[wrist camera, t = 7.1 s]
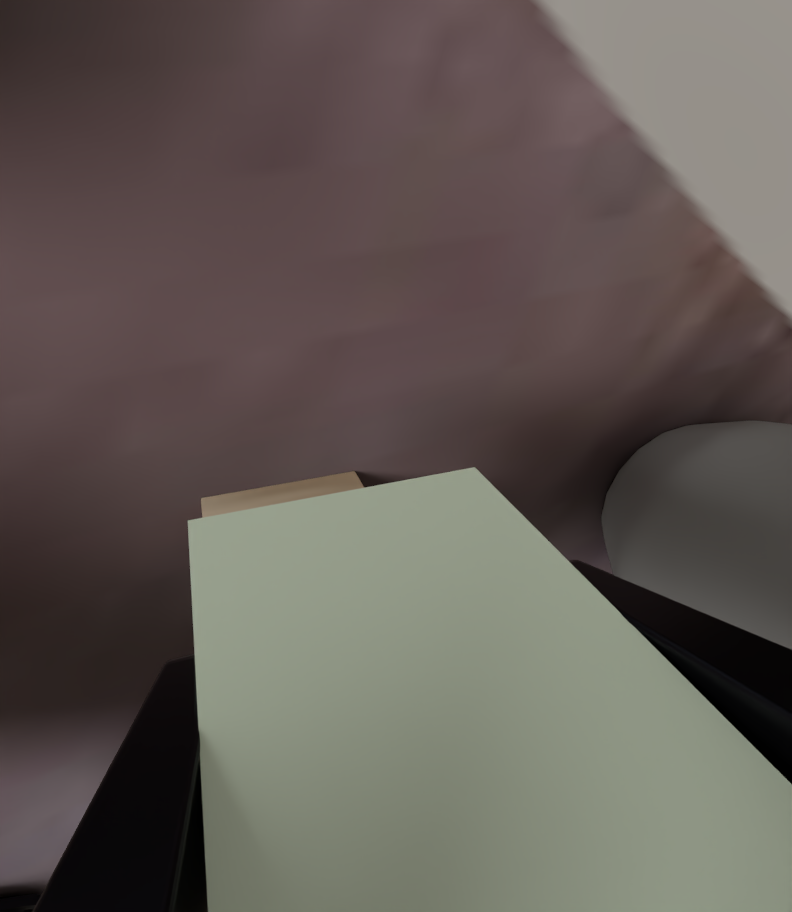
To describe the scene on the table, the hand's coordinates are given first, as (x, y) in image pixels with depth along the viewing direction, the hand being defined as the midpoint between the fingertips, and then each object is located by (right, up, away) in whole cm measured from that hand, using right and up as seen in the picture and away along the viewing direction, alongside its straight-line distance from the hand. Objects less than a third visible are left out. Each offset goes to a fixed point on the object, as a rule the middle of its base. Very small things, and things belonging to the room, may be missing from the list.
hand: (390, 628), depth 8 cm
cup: (+11, +1, +17) cm, 21 cm away
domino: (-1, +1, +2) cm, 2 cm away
